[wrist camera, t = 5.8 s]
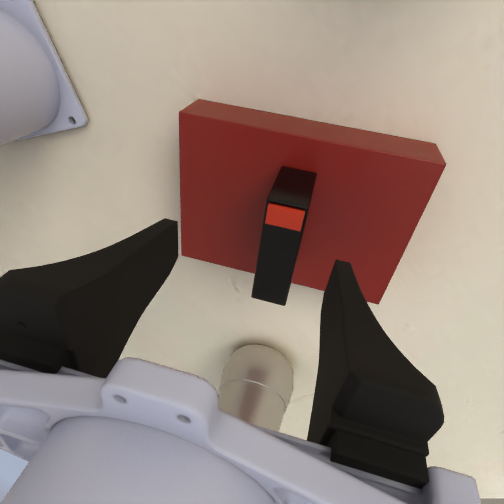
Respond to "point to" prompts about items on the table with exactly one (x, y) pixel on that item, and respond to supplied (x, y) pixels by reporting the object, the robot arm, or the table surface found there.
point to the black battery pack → (282, 233)
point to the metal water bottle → (256, 386)
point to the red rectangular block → (323, 199)
